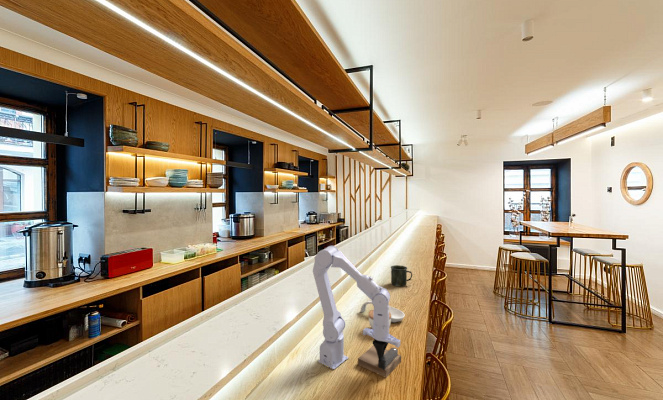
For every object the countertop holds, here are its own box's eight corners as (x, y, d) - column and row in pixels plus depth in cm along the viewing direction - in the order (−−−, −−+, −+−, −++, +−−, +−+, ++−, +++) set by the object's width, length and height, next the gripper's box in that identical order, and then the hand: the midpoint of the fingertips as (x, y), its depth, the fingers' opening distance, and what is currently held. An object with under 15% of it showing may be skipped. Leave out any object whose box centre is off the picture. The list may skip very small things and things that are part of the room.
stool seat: (386, 377, 102) (386, 370, 102) (357, 364, 110) (357, 358, 110) (401, 361, 112) (401, 355, 112) (374, 350, 119) (374, 344, 119)
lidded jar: (373, 337, 130) (373, 316, 130) (364, 326, 141) (364, 307, 140) (395, 333, 133) (395, 313, 133) (385, 323, 143) (385, 304, 143)
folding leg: (392, 352, 113) (392, 346, 113) (398, 355, 111) (398, 348, 111) (378, 367, 104) (378, 360, 104) (384, 369, 102) (384, 362, 102)
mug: (391, 281, 207) (391, 264, 207) (412, 283, 203) (412, 266, 202) (389, 286, 197) (389, 268, 196) (411, 288, 192) (412, 270, 192)
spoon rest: (408, 318, 149) (408, 305, 148) (399, 327, 139) (399, 313, 139) (367, 307, 162) (367, 295, 162) (356, 315, 153) (356, 302, 152)
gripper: (404, 324, 105) (403, 361, 105) (369, 313, 114) (369, 347, 115) (395, 332, 99) (395, 370, 100) (360, 320, 108) (359, 355, 109)
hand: (380, 359), depth 107 cm, fingers closed
